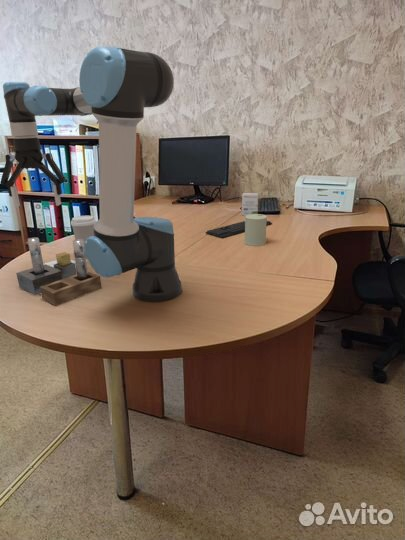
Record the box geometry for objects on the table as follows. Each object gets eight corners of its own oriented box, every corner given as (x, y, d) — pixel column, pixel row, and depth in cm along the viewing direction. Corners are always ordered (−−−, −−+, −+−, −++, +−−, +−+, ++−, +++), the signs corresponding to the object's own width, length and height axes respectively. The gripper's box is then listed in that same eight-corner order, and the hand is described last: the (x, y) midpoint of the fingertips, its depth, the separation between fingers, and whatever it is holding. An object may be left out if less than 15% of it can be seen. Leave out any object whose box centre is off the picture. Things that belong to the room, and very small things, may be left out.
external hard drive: (34, 270, 141) (65, 260, 150) (46, 275, 136) (77, 265, 145) (34, 265, 140) (64, 256, 149) (46, 270, 136) (76, 261, 144)
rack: (87, 282, 128) (86, 271, 127) (101, 287, 124) (100, 276, 122) (42, 299, 117) (39, 286, 115) (55, 305, 112) (53, 293, 111)
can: (270, 242, 166) (271, 214, 162) (257, 247, 160) (258, 219, 155) (252, 238, 172) (253, 211, 168) (239, 243, 166) (240, 215, 161)
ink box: (257, 214, 215) (258, 192, 211) (257, 216, 211) (258, 194, 207) (242, 213, 217) (242, 192, 212) (241, 215, 212) (242, 194, 208)
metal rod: (48, 285, 126) (40, 238, 120) (39, 289, 124) (30, 240, 118) (43, 283, 128) (35, 236, 122) (34, 286, 126) (25, 239, 120)
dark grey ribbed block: (222, 239, 173) (222, 235, 172) (205, 234, 181) (205, 230, 180) (272, 225, 195) (272, 221, 194) (255, 221, 202) (255, 217, 202)
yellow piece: (72, 270, 132) (69, 253, 129) (63, 273, 129) (61, 256, 127) (66, 268, 133) (64, 252, 131) (58, 271, 131) (55, 254, 129)
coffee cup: (69, 257, 152) (64, 219, 147) (84, 250, 161) (80, 214, 155) (90, 259, 149) (85, 221, 144) (104, 252, 157) (100, 215, 152)
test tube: (91, 288, 123) (85, 240, 118) (83, 291, 121) (76, 242, 115) (85, 286, 125) (79, 238, 120) (77, 289, 123) (70, 240, 117)
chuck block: (81, 278, 131) (79, 265, 129) (35, 295, 119) (32, 280, 117) (64, 272, 137) (62, 259, 135) (19, 287, 125) (16, 273, 123)
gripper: (69, 135, 124) (79, 202, 131) (-9, 138, 124) (5, 204, 131) (62, 136, 117) (72, 206, 124) (-22, 139, 117) (-6, 209, 124)
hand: (38, 205), depth 128 cm, fingers open, 13 cm apart
